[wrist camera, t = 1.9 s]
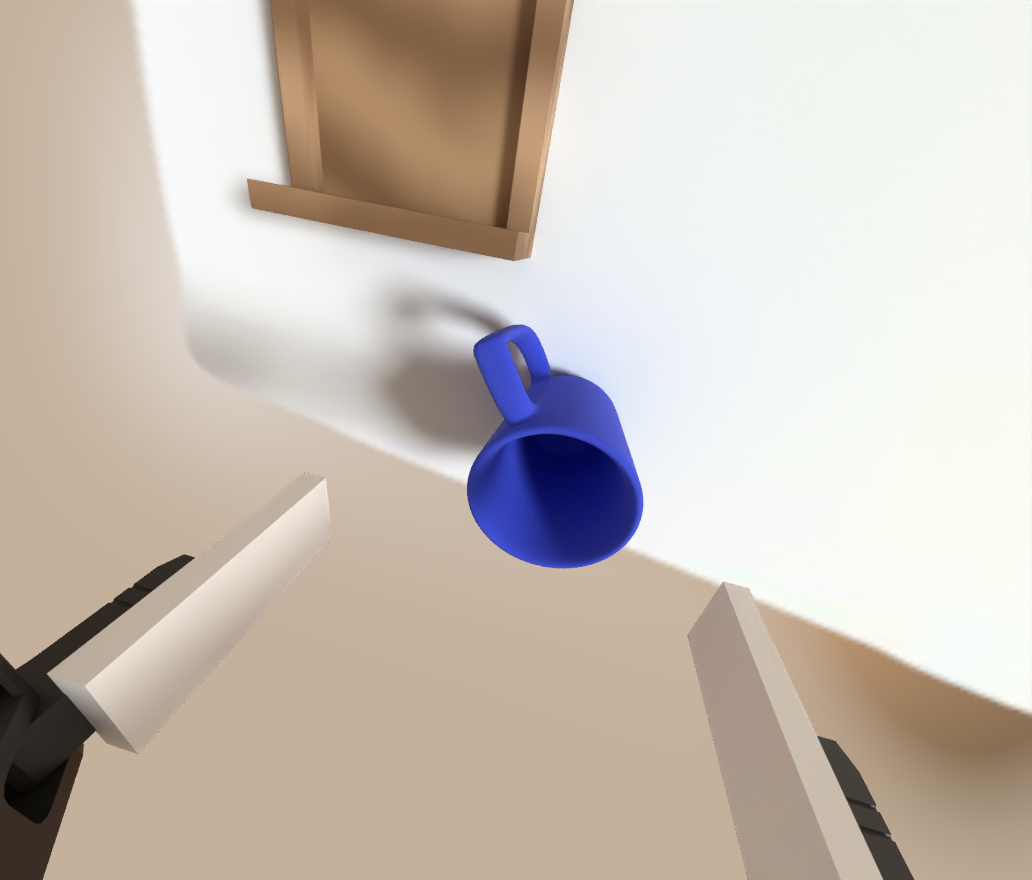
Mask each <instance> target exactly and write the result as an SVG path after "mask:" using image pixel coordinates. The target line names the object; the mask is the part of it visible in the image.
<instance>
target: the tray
mask: <svg viewBox="0 0 1032 880" xmlns="http://www.w3.org/2000/svg"><path fill="white" fill-rule="evenodd" d="M573 2H574V0H270V3H271V12H272V20H273V29H274V37H275V46H276V54H277V63H278V71H279V80H280V88H281V96H282V105H283V113H284V122H285V130H286V139H287V147H288V156H289V164H290V173H291V181H292V187H289V186H284V185H278V184H273V183H268V182H262V181H257V180H252V179H247V182H248V188H249V194H250V200H251V206H252V208H254V209H259V210H264V211H269V212H274V213H279V214H284V215H289V216H294V217H299V218H304V219H309V220H314V221H319V222H324V223H328V224H333V225H338V226H343V227H348V228H353V229H358V230H363V231H368V232H373V233H378V234H383V235H388V236H393V237H398V238H403V239H408V240H413V241H417V242H422V243H427V244H432V245H437V246H442V247H447V248H452V249H457V250H462V251H467V252H472V253H477V254H482V255H487V256H492V257H497V258H502V259H506V260H511V261H516V260H521V259H526V258H530V257H531V252H532V246H533V240H534V234H535V228H536V222H537V216H538V210H539V204H540V198H541V192H542V186H543V181H544V175H545V169H546V163H547V157H548V151H549V145H550V139H551V133H552V127H553V121H554V115H555V109H556V103H557V97H558V91H559V85H560V80H561V74H562V68H563V62H564V56H565V50H566V44H567V38H568V32H569V26H570V20H571V14H572V8H573Z"/></svg>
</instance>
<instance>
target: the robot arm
mask: <svg viewBox="0 0 1032 880" xmlns="http://www.w3.org/2000/svg"><path fill="white" fill-rule="evenodd" d="M331 539H332V530H331V521H330V512H329V503H328V494H327V486H326V478H324V477H320V476H316V475H313V474H309V473H305V472H304V473H303V474H302V475H301V476H300V477H298V478H297V479H296V480H294V481H293V482H292V483H290V484H289V485H288V486H287V487H285V488H284V489H283V490H281V491H280V492H279V493H278V494H276V495H275V496H274V497H272V498H271V499H270V500H269V501H267V502H266V503H265V504H264V505H262V506H261V507H260V508H259V509H257V510H256V511H255V512H253V513H252V514H251V515H249V516H248V517H247V518H246V519H244V520H243V521H242V522H241V523H239V524H238V525H237V526H235V527H234V528H233V529H232V530H230V531H229V532H228V533H226V534H225V535H224V536H223V537H221V538H220V539H219V540H218V541H216V542H215V543H214V544H212V545H211V546H210V547H209V548H207V549H206V550H205V551H203V552H202V553H201V554H199V555H198V556H197V557H196V558H195V557H192V556H188V555H182V556H180V557H178V558H175V559H173V560H171V561H169V562H167V563H165V564H163V565H161V566H158V567H157V568H155V569H154V570H153V571H151V572H150V573H149V574H147V575H146V576H144V577H143V578H142V579H140V580H139V581H138V582H136V583H135V584H134V586H133V587H132V588H128V589H127V590H125V591H124V592H123V593H121V594H120V595H118V596H117V597H116V598H114V601H113V602H112V603H108V604H106V605H105V606H103V607H102V608H101V609H99V610H98V611H97V612H95V613H94V614H93V615H91V616H90V617H89V618H87V619H86V620H84V621H83V622H82V623H80V624H79V625H78V626H76V627H75V628H73V629H72V630H71V631H69V632H68V633H67V634H65V635H64V636H63V637H61V638H60V639H58V640H57V641H56V642H54V643H53V644H52V645H50V646H49V647H48V648H46V649H45V650H44V651H42V652H41V653H39V654H38V655H37V656H35V657H34V658H33V659H31V660H30V661H28V662H27V663H25V664H24V665H22V666H20V667H19V668H17V669H16V670H15V669H14V668H13V666H12V665H11V664H10V663H9V662H8V661H7V660H6V659H5V658H4V657H3V656H2V655H1V654H0V880H43V877H44V873H45V871H46V867H47V864H48V861H49V858H50V855H51V852H52V849H53V846H54V843H55V840H56V837H57V834H58V831H59V828H60V824H61V821H62V818H63V815H64V812H65V809H66V806H67V803H68V800H69V797H70V794H71V791H72V788H73V784H74V781H75V778H76V775H77V772H78V769H79V766H80V762H81V760H82V757H83V746H84V744H83V743H84V742H85V740H87V739H88V738H89V737H90V736H91V735H92V734H93V733H94V732H95V731H96V732H97V733H98V734H99V735H100V736H101V737H102V738H103V740H104V741H105V742H106V743H107V744H110V745H113V746H116V747H119V748H122V749H125V750H128V751H131V752H134V753H136V754H139V753H140V752H141V750H142V749H143V748H144V747H145V746H146V745H147V744H148V742H150V740H151V739H152V738H153V737H154V736H155V735H156V733H158V732H159V730H160V729H161V728H162V727H163V726H164V725H165V724H166V723H167V721H168V720H169V719H170V718H171V717H172V716H173V715H174V714H175V713H176V711H177V710H178V709H179V708H180V707H181V706H182V705H183V704H184V703H185V701H186V700H187V699H188V698H189V697H190V696H191V695H192V694H193V692H194V691H195V690H196V689H197V688H198V687H199V686H200V685H201V684H202V682H203V681H204V680H205V679H206V678H207V677H208V676H209V674H210V673H211V672H212V671H213V670H214V669H215V668H216V667H217V666H218V664H219V663H220V662H221V661H222V660H223V659H224V658H225V657H226V656H227V655H228V653H229V652H230V651H231V650H232V649H233V648H234V647H235V646H236V645H237V643H238V642H239V641H240V640H241V639H242V638H243V637H244V636H245V634H246V633H247V632H248V631H249V630H250V629H251V628H252V627H253V626H254V624H255V623H256V622H257V621H258V620H259V619H260V618H261V617H262V615H263V614H264V613H265V612H266V611H267V610H268V609H269V608H270V607H271V605H272V604H273V603H274V602H275V601H276V600H277V599H278V598H279V597H280V595H281V594H282V593H283V592H284V591H285V590H286V589H287V587H289V585H290V584H291V583H292V582H293V581H294V580H295V579H296V577H297V576H298V575H299V574H300V573H301V572H302V571H303V570H304V569H305V568H306V566H307V565H308V564H309V563H310V562H311V561H312V560H313V558H315V556H316V555H317V554H318V553H319V552H320V551H321V550H322V549H323V547H324V546H325V545H326V544H327V543H328V542H329V541H330V540H331ZM687 636H688V639H689V643H690V648H691V652H692V655H693V660H694V664H695V668H696V672H697V676H698V680H699V684H700V688H701V692H702V696H703V700H704V704H705V708H706V712H707V716H708V720H709V724H710V729H711V733H712V737H713V741H714V745H715V749H716V753H717V756H718V761H719V765H720V769H721V773H722V777H723V781H724V785H725V789H726V793H727V797H728V801H729V805H730V809H731V813H732V817H733V822H734V825H735V830H736V834H737V837H738V842H739V846H740V850H741V854H742V858H743V862H744V866H745V870H746V874H747V878H748V880H914V879H913V876H912V875H911V873H910V871H909V869H908V867H907V865H906V863H905V861H904V859H903V857H902V855H901V853H900V851H899V849H898V847H897V845H896V843H895V842H893V841H892V840H891V837H890V835H891V833H890V831H889V829H888V827H887V826H886V824H885V822H884V820H883V818H882V816H881V814H880V812H877V810H876V804H875V802H874V800H873V798H872V796H871V794H870V792H869V790H868V788H867V786H866V784H865V783H864V780H863V779H862V777H861V775H860V773H859V771H858V770H857V769H856V767H855V766H854V765H853V764H852V762H851V761H850V759H849V758H848V757H847V755H846V754H845V753H844V752H843V750H842V749H841V748H840V747H839V745H838V744H837V743H836V741H833V740H830V739H826V738H823V737H819V736H817V735H816V733H815V731H814V729H813V727H812V724H811V722H810V720H809V718H808V716H807V714H806V711H805V709H804V707H803V705H802V703H801V701H800V698H799V696H798V694H797V692H796V690H795V688H794V685H793V683H792V681H791V679H790V677H789V675H788V673H787V670H786V668H785V666H784V664H783V662H782V660H781V657H780V655H779V653H778V651H777V649H776V646H775V644H774V642H773V640H772V638H771V636H770V634H769V631H768V629H767V628H766V625H765V623H764V620H763V618H762V616H761V614H760V612H759V610H758V607H757V605H756V603H755V601H754V599H753V597H752V594H751V592H750V590H749V588H745V587H741V586H738V585H734V584H730V583H726V582H723V583H722V584H721V586H720V587H719V589H718V590H717V592H716V593H715V595H714V596H713V598H712V599H711V601H710V603H709V604H708V605H707V607H706V608H705V610H704V611H703V613H702V614H701V616H700V617H699V619H698V620H697V622H696V623H695V625H694V626H693V628H692V629H691V631H690V632H689V634H688V635H687Z"/></svg>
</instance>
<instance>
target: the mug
mask: <svg viewBox="0 0 1032 880" xmlns="http://www.w3.org/2000/svg"><path fill="white" fill-rule="evenodd" d="M509 341H512V342H513V343H515V344H516V345H517V347H518V348H519V350H520V351H521V353H522V355H523V357H524V359H525V361H526V364H527V366H528V369H529V372H530V375H531V379H532V383H531V387H530V388H529V389H528V390H527V391H525V389H524V386H523V384H522V381H521V379H520V376H519V374H518V371H517V369H516V366H515V364H514V361H513V359H512V356H511V354H510V351H509V348H508V345H507V342H509ZM473 351H474V356H475V358H476V361H477V363H478V366H479V368H480V371H481V373H482V376H483V378H484V380H485V382H486V384H487V387H488V389H489V391H490V393H491V395H492V397H493V399H494V402H495V403H496V405H497V407H498V409H499V411H500V412H501V414H502V415H503V417H504V419H505V420H504V421H503V422H502V424H501V425H500V426H499V428H498V429H497V430H496V432H495V433H494V434H493V436H492V437H491V438H490V440H489V441H488V442H487V444H486V445H485V446H484V448H483V449H482V450H481V452H480V453H479V455H478V456H477V458H476V459H475V461H474V463H473V465H472V467H471V470H470V473H469V477H468V483H467V496H468V502H469V506H470V510H471V512H472V515H473V517H474V519H475V521H476V523H477V524H478V526H479V527H480V529H481V530H482V531H483V533H484V534H485V535H486V536H487V537H488V538H489V539H490V540H491V541H492V542H493V543H494V544H495V545H497V546H498V547H499V548H501V549H502V550H504V551H505V552H507V553H508V554H510V555H512V556H514V557H516V558H518V559H520V560H523V561H526V562H529V563H531V564H535V565H540V566H543V567H552V568H577V567H583V566H587V565H591V564H594V563H597V562H599V561H602V560H604V559H607V558H608V557H610V556H612V555H613V554H615V553H616V552H618V551H619V550H620V549H621V548H623V547H624V546H625V545H626V544H627V543H628V541H629V540H630V539H631V538H632V536H633V535H634V533H635V532H636V530H637V528H638V526H639V523H640V520H641V516H642V512H643V493H642V488H641V484H640V481H639V478H638V475H637V472H636V469H635V466H634V463H633V460H632V457H631V454H630V451H629V448H628V445H627V442H626V439H625V436H624V433H623V430H622V427H621V424H620V421H619V418H618V415H617V412H616V409H615V407H614V405H613V403H612V401H611V400H610V398H609V397H608V396H607V394H606V393H605V392H604V391H603V390H602V389H601V388H599V387H598V386H597V385H595V384H594V383H592V382H590V381H588V380H586V379H583V378H581V377H577V376H568V375H564V376H555V377H550V376H551V373H550V367H549V364H548V360H547V357H546V355H545V352H544V349H543V347H542V345H541V342H540V340H539V339H538V337H537V335H536V334H535V332H534V331H533V330H532V329H531V328H530V327H528V326H525V325H512V326H509V327H506V328H503V329H501V330H498V331H496V332H494V333H492V334H490V335H488V336H486V337H484V338H482V339H481V340H479V341H478V342H477V343H476V344H475V346H474V350H473Z"/></svg>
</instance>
